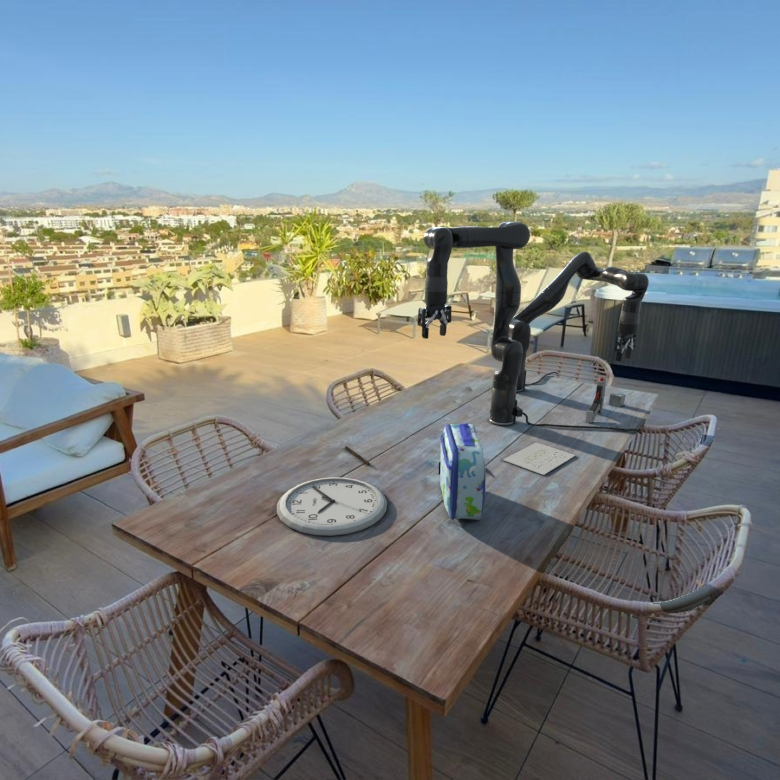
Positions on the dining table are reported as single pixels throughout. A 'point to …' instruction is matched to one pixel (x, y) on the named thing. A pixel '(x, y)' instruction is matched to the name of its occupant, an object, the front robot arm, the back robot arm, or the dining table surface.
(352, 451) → the brown thin stick
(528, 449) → the invitation card
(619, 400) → the block
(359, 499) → the wall clock
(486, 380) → the dining table surface
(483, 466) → the lunch box
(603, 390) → the toy gun
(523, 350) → the back robot arm
